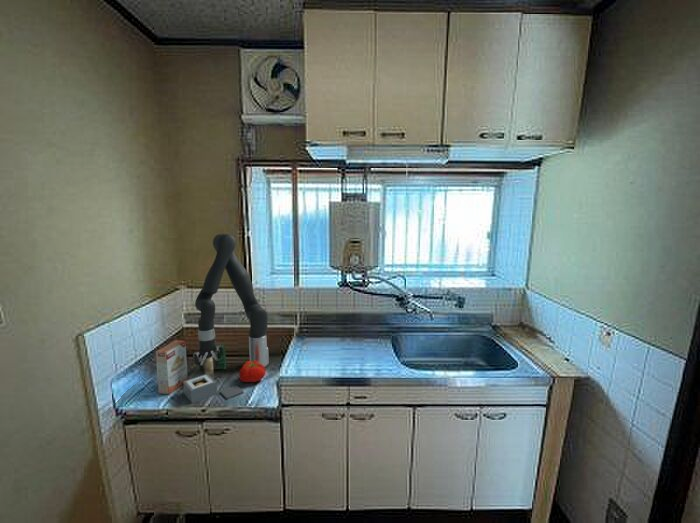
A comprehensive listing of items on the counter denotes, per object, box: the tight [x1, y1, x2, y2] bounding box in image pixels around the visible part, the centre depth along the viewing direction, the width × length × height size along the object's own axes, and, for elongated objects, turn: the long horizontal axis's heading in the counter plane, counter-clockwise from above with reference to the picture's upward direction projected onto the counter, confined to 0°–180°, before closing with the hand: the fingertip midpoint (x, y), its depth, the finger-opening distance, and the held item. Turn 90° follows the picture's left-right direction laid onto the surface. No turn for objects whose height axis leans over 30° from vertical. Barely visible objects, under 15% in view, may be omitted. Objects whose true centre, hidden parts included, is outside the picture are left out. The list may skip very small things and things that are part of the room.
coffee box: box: [213, 344, 227, 370], centre depth 177 cm, size 8×3×13 cm, turn 88°
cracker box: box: [155, 339, 189, 395], centre depth 158 cm, size 14×6×21 cm, turn 172°
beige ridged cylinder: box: [203, 356, 215, 380], centre depth 165 cm, size 4×4×12 cm
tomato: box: [238, 360, 266, 383], centre depth 166 cm, size 14×13×9 cm
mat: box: [219, 384, 245, 400], centre depth 155 cm, size 8×8×1 cm
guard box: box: [182, 373, 218, 404], centre depth 153 cm, size 11×11×6 cm
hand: (208, 369), depth 165 cm, fingers open, 6 cm apart
